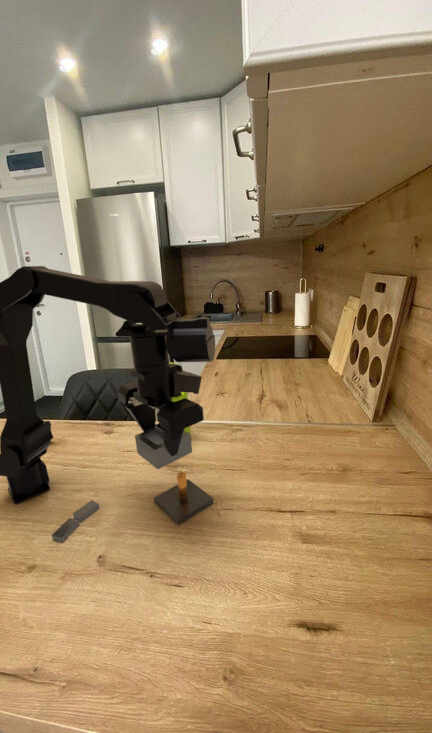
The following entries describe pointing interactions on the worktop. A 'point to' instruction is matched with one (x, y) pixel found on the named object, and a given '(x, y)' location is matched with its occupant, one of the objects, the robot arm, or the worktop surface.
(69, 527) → the wood sided gray block
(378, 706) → the worktop surface
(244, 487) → the worktop surface
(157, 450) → the hollow square frame
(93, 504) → the grey topped wooden tile
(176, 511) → the keeper
